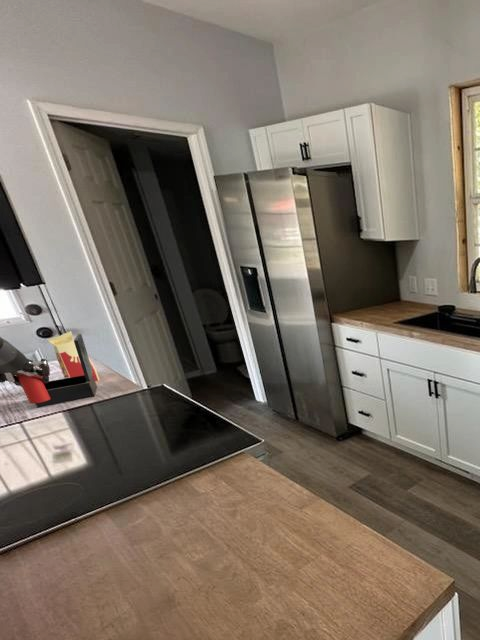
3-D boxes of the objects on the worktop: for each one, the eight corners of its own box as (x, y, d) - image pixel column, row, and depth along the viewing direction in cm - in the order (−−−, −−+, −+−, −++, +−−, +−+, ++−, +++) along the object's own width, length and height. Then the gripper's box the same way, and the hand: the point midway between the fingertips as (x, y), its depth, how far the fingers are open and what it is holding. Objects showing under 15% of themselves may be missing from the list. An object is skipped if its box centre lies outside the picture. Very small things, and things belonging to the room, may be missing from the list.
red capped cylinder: (28, 404, 125) (8, 363, 120) (31, 400, 128) (11, 360, 123) (49, 400, 127) (30, 359, 123) (51, 397, 130) (32, 357, 126)
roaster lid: (73, 340, 135) (77, 340, 135) (77, 334, 145) (81, 333, 145) (86, 381, 139) (90, 381, 140) (89, 372, 149) (92, 372, 150)
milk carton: (95, 377, 163) (75, 328, 156) (102, 382, 158) (81, 331, 151) (63, 384, 156) (40, 333, 149) (69, 389, 151) (45, 336, 144)
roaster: (38, 410, 134) (30, 393, 131) (45, 398, 143) (37, 383, 141) (95, 398, 142) (88, 382, 140) (98, 388, 151) (91, 373, 149)
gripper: (33, 338, 118) (66, 367, 132) (-41, 347, 111) (2, 376, 125) (33, 360, 115) (66, 388, 129) (-43, 370, 109) (1, 398, 123)
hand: (34, 382), depth 127 cm, fingers closed on red capped cylinder, 4 cm apart
